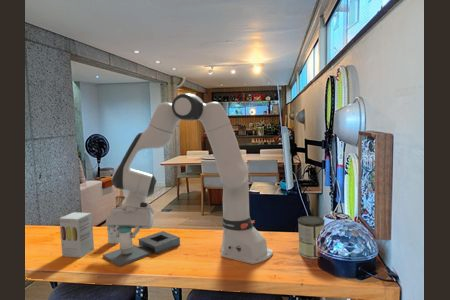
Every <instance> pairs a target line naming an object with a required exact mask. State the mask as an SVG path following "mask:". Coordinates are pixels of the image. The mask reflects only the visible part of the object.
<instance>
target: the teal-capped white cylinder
mask: <svg viewBox="0 0 450 300" xmlns="http://www.w3.org/2000/svg"><path fill="white" fill-rule="evenodd" d="M118 232H119V240H120V242H119V249H120V253H121V254H130V253H132V252H133V245H132V244H133V238H131V237H130V235H131V233H133V228H132V227H122V228H119V229H118Z"/></svg>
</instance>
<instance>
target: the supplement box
mask: <svg viewBox="0 0 450 300" xmlns="http://www.w3.org/2000/svg"><path fill="white" fill-rule="evenodd" d="M58 220H59V229H60V230H59V231H60V242H61V254H62V255H61V256H62V257H67V258H77V259H79V258H80V259H81V258H83V257H85V256H86V255H87V254H89V253H90V252H92V251H94V250H95V243H94V230H93V229H94V227H93V217H92V212H77V211H74V212H71V213H69V214H66V215H64V216H61V217H59V219H58Z"/></svg>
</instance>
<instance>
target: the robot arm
mask: <svg viewBox="0 0 450 300" xmlns="http://www.w3.org/2000/svg"><path fill="white" fill-rule="evenodd" d="M181 121H188V122H192V121H200V122H201V124H202V126H203V129H204V131H205V134H206V137H207V139H208V142H209V144H210V147H211V151H212V154H213V157H214V162H215V165H216V169H217V172H218V175H219V178H220V181H221V183H222V213H223V214H222V220H221V222H222V225H221V226H222V227H223V229H222V230H223V232H222V239H221V240H222V241H221V247H220V252H221V253H220V256H221V257H223V258H227V259H231V260H235V261H238V262H242V263H246V264H250V265H254V264H255V265H256V264H260V263H262V262H264V261H267V260H268V259H269V258H271V257H272V256H273V253H274V251H273V250H272V249H271V248H268V244H267V240H266V238H265V236H263V235H262V234H261V233H260V232H259V231H258V230H257V229H256V227H255V226H254V224H255V223H256V222H255V221H256V220H255V219H254V220H252V218H251V216H250V193H249V192H250V188H249V187H250V185H249V183H250V182H249V179H250V178H249V165H248V163H247V161H246V160H245V159H244V158H243V156H242V152H241V149H240V146H239V143H238V139H237V137H236V133H235V131H234V129H233V126H232V124H231V121H230V117H229V116H228V114H227V112H226V110H225V108H224V106H223V105H222V104H221V103H220V102H218V101H209V102H207V103H205V101H204V100H203V98H201V97H200V96H198V95H197V94H193V93H189V92H188V93H187V92H186V93H185V92H183V93H180V94H178V95H176V96H175V98H173V100H172V101H171V102H168V101H164V102H161V103H159V104H158V105H157V107H156V109H155V110H154V112H153V114H152V117H151V118H150V121H149V124H148V125H147V128H146V129H145V130H144V131H142V132H139V133H138V134H137V135H136V136H135V137H134V139H133V140H132V141H131V144H130V145H129V147H128V149H127V151H126V153H125V154H124V156H123V158H122V160H121V161H120V164H119V165H118V166H117V167H116V168H115V170H114V171H113V173H112V176H111V183H112V185H113V186H114V188H115V189H117V190H123V191H124V190H125V191H128V195H127V196H126V198H125V201H124V204H123V207H122V206H121V207H117V206H116V207H114V208H112V209H111V210H110V212H109V215H108V216H107V221H106V220H105V225H106V227H107V226H108V227H109V228H115V230H116V234H115V237H116V238H119V232H118V229H119V228H122V227H132V229H134V230H133V231H132V233H131V235H130V237H131V238H132V239H135V238H136V235H137V234H138V233H139V232H140V230H141V229H142V230H145V229H146V230H148V229H150V230H151V228H152V227H153V224H154V219H155V216H154V213H155V210H154V208H153V207H152V205H151V204H150V203H149V202H147V198H149V197H151V196H152V195H153V194H154V191H155V188H156V187H155V186H156V184H157V179H156V177H155V175H154V174H151V173H149V172H146V171H143V170H139V169H135V168H133V167H131V164H132V163H133V160H134V159H135V157H136V155H137V154H138V153H139V152H140V151H142V150H147V149H160V148H164V147H167V146H168V145H169V144H171V141H172V139H173V137H174V135H175V132H176V129H177V126H178V124H179V123H180V122H181Z"/></svg>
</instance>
